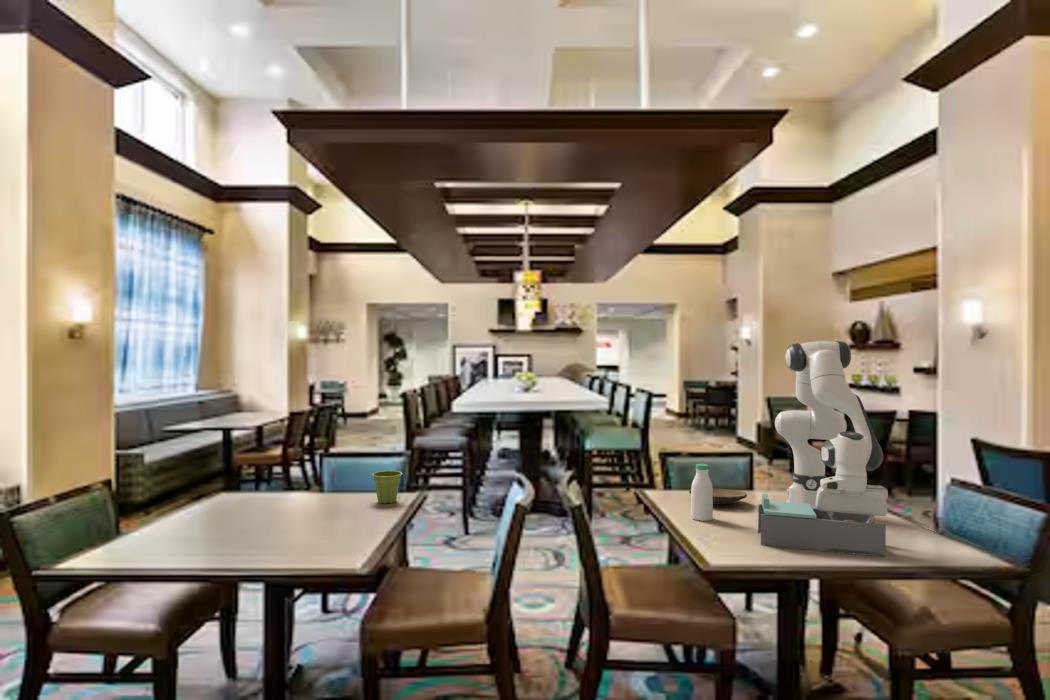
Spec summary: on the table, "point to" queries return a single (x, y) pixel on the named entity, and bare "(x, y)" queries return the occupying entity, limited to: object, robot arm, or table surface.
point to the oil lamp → (726, 496)
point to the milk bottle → (702, 494)
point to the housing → (823, 532)
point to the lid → (787, 508)
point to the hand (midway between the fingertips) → (850, 527)
